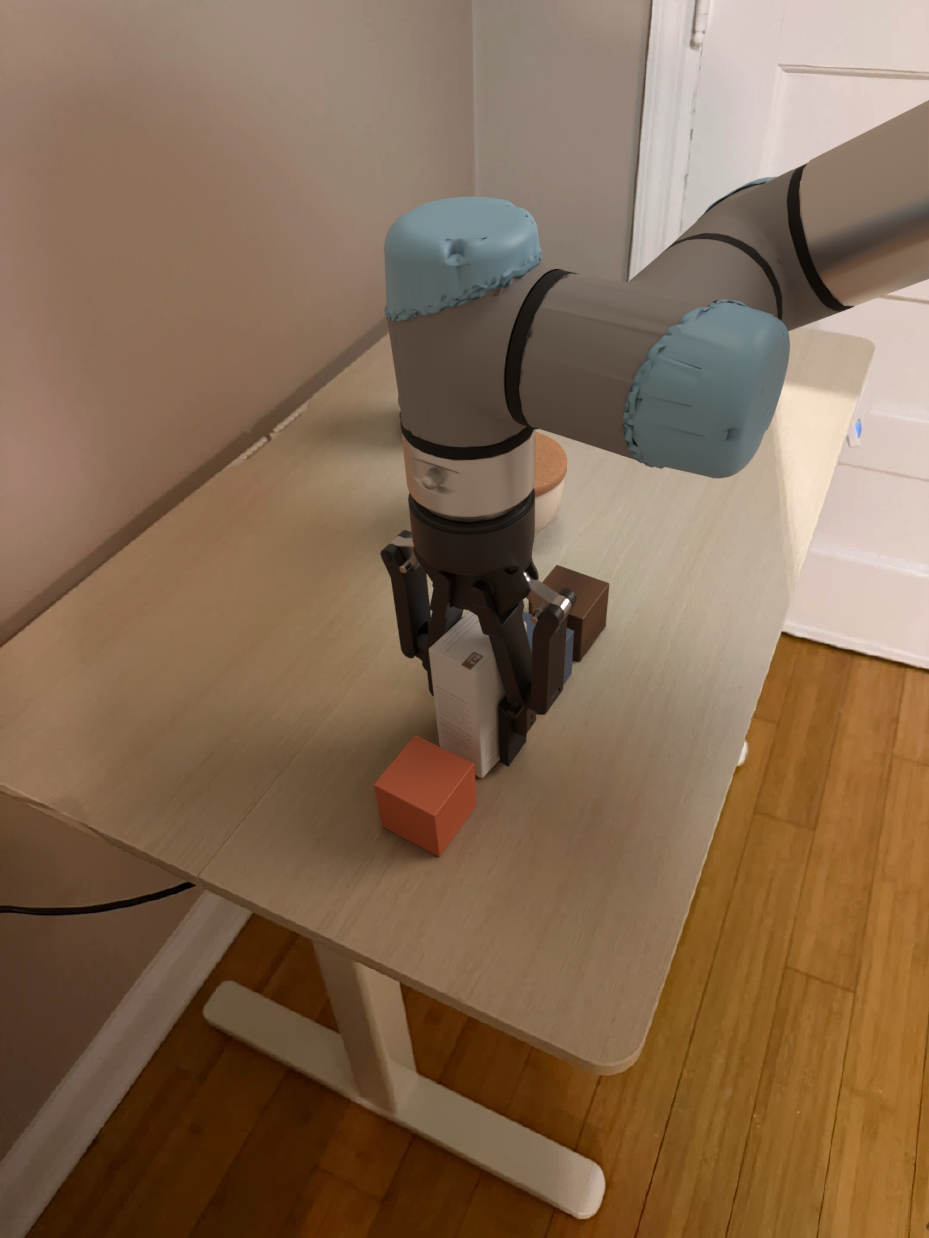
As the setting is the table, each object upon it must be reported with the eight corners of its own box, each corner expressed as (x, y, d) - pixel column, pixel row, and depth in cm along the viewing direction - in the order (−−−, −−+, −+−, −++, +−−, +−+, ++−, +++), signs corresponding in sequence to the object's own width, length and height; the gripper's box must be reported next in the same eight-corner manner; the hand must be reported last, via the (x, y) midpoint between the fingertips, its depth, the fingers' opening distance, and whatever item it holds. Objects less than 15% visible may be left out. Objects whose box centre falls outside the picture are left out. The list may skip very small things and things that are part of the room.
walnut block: (606, 626, 78) (609, 583, 74) (580, 662, 75) (582, 619, 71) (555, 606, 80) (556, 564, 76) (527, 641, 77) (528, 598, 73)
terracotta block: (477, 805, 65) (474, 763, 61) (439, 857, 62) (434, 816, 58) (420, 776, 67) (414, 734, 63) (381, 826, 64) (373, 784, 60)
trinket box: (547, 568, 83) (549, 485, 77) (441, 547, 86) (434, 465, 80) (577, 503, 91) (581, 422, 84) (478, 485, 94) (474, 406, 87)
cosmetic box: (485, 707, 71) (478, 594, 63) (531, 732, 69) (530, 618, 61) (436, 757, 68) (422, 644, 60) (483, 785, 66) (475, 672, 58)
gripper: (313, 478, 53) (361, 726, 70) (577, 571, 46) (562, 824, 62) (386, 420, 58) (415, 665, 74) (637, 496, 51) (609, 750, 67)
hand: (483, 737), depth 68 cm, fingers closed on cosmetic box, 5 cm apart
